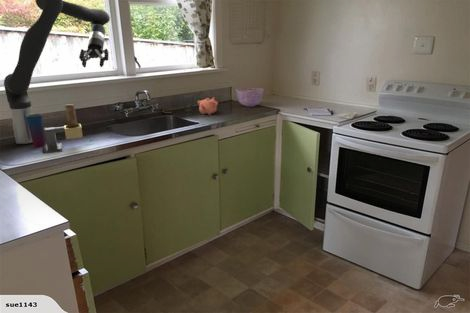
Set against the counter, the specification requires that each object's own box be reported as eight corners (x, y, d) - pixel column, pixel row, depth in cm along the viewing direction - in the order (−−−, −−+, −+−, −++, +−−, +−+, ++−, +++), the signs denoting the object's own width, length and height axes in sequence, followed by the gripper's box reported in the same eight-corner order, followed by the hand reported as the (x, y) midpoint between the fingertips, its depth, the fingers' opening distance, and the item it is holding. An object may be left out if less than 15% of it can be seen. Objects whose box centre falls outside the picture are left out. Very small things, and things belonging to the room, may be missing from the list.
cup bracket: (42, 153, 171) (39, 132, 168) (43, 147, 180) (40, 127, 177) (84, 148, 178) (81, 127, 174) (83, 143, 186) (80, 123, 183)
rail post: (69, 135, 176) (65, 106, 172) (69, 133, 180) (64, 104, 175) (78, 134, 178) (74, 105, 173) (78, 132, 181) (74, 103, 177)
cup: (43, 143, 187) (38, 113, 182) (50, 145, 183) (44, 114, 178) (29, 146, 182) (23, 115, 177) (35, 148, 178) (29, 117, 173)
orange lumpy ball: (219, 115, 243) (219, 99, 240) (201, 116, 240) (200, 100, 237) (214, 111, 256) (214, 96, 253) (197, 112, 254) (196, 96, 250)
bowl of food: (268, 104, 275) (269, 88, 272) (255, 109, 259) (255, 92, 256) (245, 102, 286) (245, 86, 282) (230, 106, 270) (230, 90, 266)
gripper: (80, 37, 199) (75, 61, 192) (107, 36, 199) (104, 61, 192) (85, 47, 206) (81, 71, 199) (111, 46, 206) (108, 70, 199)
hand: (92, 66), depth 195 cm, fingers open, 8 cm apart
